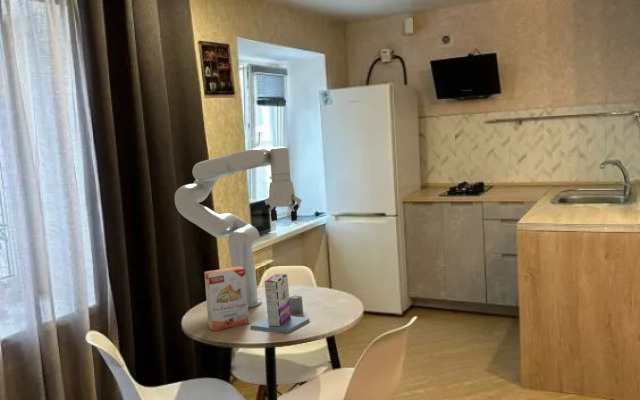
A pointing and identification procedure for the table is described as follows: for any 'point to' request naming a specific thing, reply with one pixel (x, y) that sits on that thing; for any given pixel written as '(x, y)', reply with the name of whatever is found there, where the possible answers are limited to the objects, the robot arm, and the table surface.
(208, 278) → the cracker box
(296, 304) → the charcoal cylinder
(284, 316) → the candy bar box
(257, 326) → the slate board
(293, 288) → the table surface
